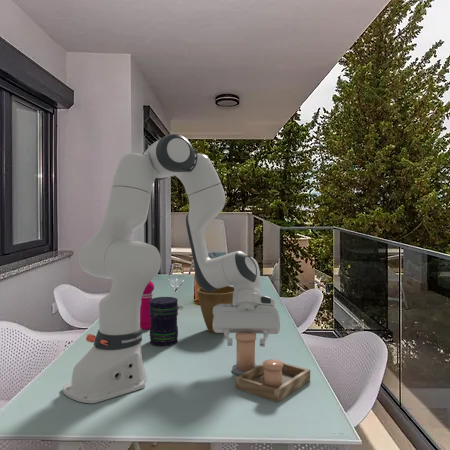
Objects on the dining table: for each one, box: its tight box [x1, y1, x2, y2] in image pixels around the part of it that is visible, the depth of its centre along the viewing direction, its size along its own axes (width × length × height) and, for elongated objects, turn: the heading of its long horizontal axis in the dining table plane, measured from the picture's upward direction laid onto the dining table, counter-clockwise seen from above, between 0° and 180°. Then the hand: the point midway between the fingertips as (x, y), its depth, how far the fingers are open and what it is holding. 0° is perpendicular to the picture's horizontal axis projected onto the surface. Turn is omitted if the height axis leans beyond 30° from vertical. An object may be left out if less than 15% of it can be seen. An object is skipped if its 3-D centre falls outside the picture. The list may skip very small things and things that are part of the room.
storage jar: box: [149, 296, 179, 348], centre depth 155 cm, size 10×10×15 cm
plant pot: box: [197, 285, 234, 334], centre depth 169 cm, size 15×15×16 cm
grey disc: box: [231, 364, 258, 376], centre depth 130 cm, size 8×8×1 cm
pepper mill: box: [140, 280, 155, 331], centre depth 173 cm, size 7×7×20 cm
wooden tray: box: [235, 358, 311, 403], centre depth 121 cm, size 17×13×3 cm
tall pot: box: [235, 331, 257, 372], centre depth 130 cm, size 6×6×10 cm
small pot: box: [262, 358, 284, 388], centre depth 115 cm, size 5×5×7 cm
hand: (246, 345), depth 129 cm, fingers open, 8 cm apart
